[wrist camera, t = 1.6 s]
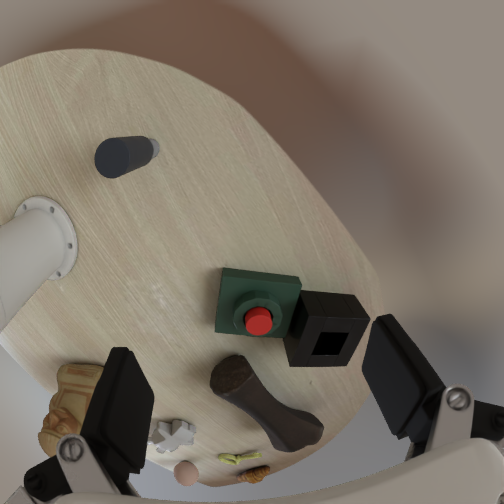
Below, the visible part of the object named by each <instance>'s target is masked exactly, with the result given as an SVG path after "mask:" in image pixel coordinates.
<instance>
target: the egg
mask: <svg viewBox="0 0 504 504" xmlns="http://www.w3.org/2000/svg"><path fill="white" fill-rule="evenodd" d="M174 477H175V479H176V480H177V482H179V483H180V484H181V485H183V486H191V485H193V484H194V483H195V482H196V481H197V479H198V477H199V472H198V469H197V468H196V466H195V465H194V464H192V463H190V462H180V463H178V464H177V465H176V466H175V468H174Z"/></svg>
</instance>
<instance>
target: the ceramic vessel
mask: <svg viewBox="0 0 504 504" xmlns="http://www.w3.org/2000/svg"><path fill="white" fill-rule="evenodd" d="M103 369H104V368H103V367H101V366H97V365H77V364H66V365H63V366H61V367H60V368H59V370H58V373H57V382H58V392H57V393H56V394H54V395H53V397H52V399H51V401H50V404H49V413H48V414H47V415H46V417H45V418H44V420H43V427H42V430H41V432H39V433H38V440H39V443H40V445H41V447H42V449H43V450H44V452H45V453H46V454H47V455H48V456H49V457H50V458H51V457H52V456H54V455H56V445H57V443H58V441H59V440H60V439H61V438H62V437H63V436H64V435H67V434H70V433H75V434H78V435H79V434H80V431H81V428H82V425H83V421H84V418H85V415H86V412H87V409H88V406H89V403H90V400H91V398H92V395H93V392H94V389H95V387H96V384H97V382H98V380H99V379H100V377H101V374H102V372H103Z"/></svg>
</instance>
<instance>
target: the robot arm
mask: <svg viewBox="0 0 504 504" xmlns="http://www.w3.org/2000/svg"><path fill="white" fill-rule="evenodd" d="M77 251H78V248H77V238H76V233H75V230H74V227H73V224H72V222H71V220H70V218H69V217H68V215H67V214H66V212H65V211H64V209H63V208H62V207H61V206H60V205H59V204H58V203H56V202H55V201H54V200H52V199H50V198H48V197H44V196H34V197H31V198H29V199H27V200H25V201H23V202H22V203H21V204H20V205H19V207H18V208H17V210H16V212H15V215H14V219H12V220H11V221H9V222H7V223H6V224H4V225H2V226H1V225H0V333H1V332H2V331H3V329H4V328H5V327H6V326H7V324H8V323H9V322H10V321H11V320H12V318H13V317H14V316H15V315H16V314H17V312H18V311H19V310H20V309H21V308H22V307H23V305H24V304H25V303H26V302H27V301H28V300H29V299H30V297H31V296H32V295H33V294H34V293H35V292H36V291H37V290H38V289H39V288H40V287H41V285H42V284H43V283H44V282H45V281H46V280H58V279H61V278H63V277H64V276H66V275H67V274H68V273H69V272H70V270H71V269H72V268H73V266H74V264H75V261H76V258H77ZM362 372H363V375H364V377H365V379H366V381H367V383H368V385H369V387H370V389H371V391H372V393H373V395H374V397H375V399H376V401H377V403H378V405H379V407H380V409H381V411H382V414H383V416H384V418H385V420H386V422H387V424H388V426H389V429H390V430H391V433H392V434H393V435H396V436H397V438H398V440H400V439H402V438H404V437H407V436H409V438H410V440H411V444H410V447H409V450H408V453H407V456H406V458H405V461H404V462H403V463H401V464H398V465H396V466H393V467H391V468H388V469H386V470H383V471H380V472H378V473H375V474H372V475H370V476H366V477H364V478H360V479H357V480H354V481H351V482H347V483H344V484H340V485H336V486H333V487H329V488H325V489H320V490H316V491H311V492H307V493H302V494H296V495H291V496H284V497H277V498H270V499H262V500H252V501H236V502H182V501H168V500H158V499H148V498H141V496H140V495H139V494H138V493H137V491H136V490H135V488H134V487H133V486H132V484H131V483H130V481H129V473H135V474H140V469H142V468H143V467H144V464H145V456H146V449H147V442H148V435H149V429H150V423H151V416H152V411H153V405H154V393H153V391H152V389H151V387H150V385H149V383H148V381H147V379H146V377H145V376H144V374H143V372H142V370H141V368H140V366H139V364H138V362H137V360H136V357H135V355H134V353H133V352H132V351H129V349H128V348H127V347H113V348H112V349H111V351H110V354H109V356H108V359H107V361H106V364H105V367H104V369H103V372H102V374H101V377H100V379H99V380H98V382H97V384H96V387H95V389H94V392H93V395H92V398H91V400H90V403H89V406H88V409H87V412H86V415H85V418H84V421H83V425H82V428H81V431H80V434H79V435H78V434H75V433H70V434H67V435H64V436H63V437H62V438H61V439H60V440H59V441H58V443H57V445H56V455H54V456H52V457H51V458H49V459H47V460H45V461H44V462H42V463H40V464H38V465H36V466H35V467H33V468H31V469H29V470H28V471H27V472H26V474H25V476H24V487H22V486H20V487H19V488H18V489H17V490H16V491H15V492H14V493H13V494H12V496H11V497H10V498H9V499H8V500H7V501H6V502H5V503H4V504H504V407H501V406H497V405H493V404H489V403H484V402H480V401H476V400H474V396H473V393H472V392H471V390H470V389H469V388H468V387H466V386H464V385H461V384H452V385H450V386H448V387H447V388H446V386H445V385H444V384H443V382H442V381H441V379H440V378H439V376H438V375H437V373H436V372H435V371H434V369H433V368H432V367H431V365H430V364H429V362H428V361H427V359H426V358H425V357H424V355H423V354H422V353H421V351H420V350H419V348H418V347H417V346H416V344H415V343H414V342H413V341H412V340H411V338H410V337H409V336H408V335H407V333H406V332H405V331H404V330H403V328H402V327H401V325H400V324H399V323H398V322H397V320H396V319H395V318H394V316H393V315H392V314H387V315H382V316H378V317H377V318H376V320H375V321H373V323H372V327H371V332H370V336H369V340H368V345H367V349H366V353H365V357H364V360H363V364H362Z"/></svg>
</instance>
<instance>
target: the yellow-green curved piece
mask: <svg viewBox="0 0 504 504" xmlns="http://www.w3.org/2000/svg"><path fill="white" fill-rule="evenodd" d="M258 457H262V454H261V453H257V452H256V453H253V454H251V455H245V456H240V455H238V456H237V457H236V456H233V455H230V454H220V455H219V456H218V458H219V460H220V461H222V462H225V463H228V464H232V465H237V464H239V463H240V461H241V460H245V459H252V458H258ZM223 458H228V459H232V460H234V461H229V460H225V459H223Z"/></svg>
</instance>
